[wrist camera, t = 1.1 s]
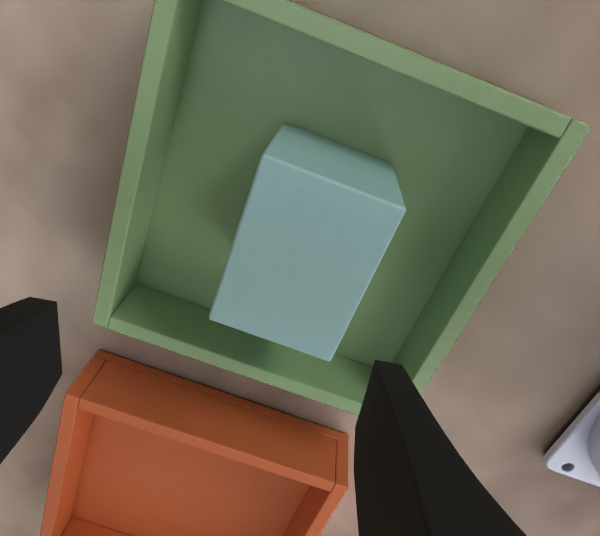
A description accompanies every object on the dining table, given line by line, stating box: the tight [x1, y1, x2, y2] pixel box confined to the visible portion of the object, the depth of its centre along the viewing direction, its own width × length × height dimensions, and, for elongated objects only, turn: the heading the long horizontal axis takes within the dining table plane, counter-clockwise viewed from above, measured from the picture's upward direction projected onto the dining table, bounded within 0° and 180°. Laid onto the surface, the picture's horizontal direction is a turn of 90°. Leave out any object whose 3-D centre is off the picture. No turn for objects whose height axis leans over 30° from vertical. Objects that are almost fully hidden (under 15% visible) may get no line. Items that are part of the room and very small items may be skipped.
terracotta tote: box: [40, 350, 348, 536], centre depth 24 cm, size 12×12×3 cm
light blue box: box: [209, 122, 406, 361], centre depth 16 cm, size 4×5×5 cm
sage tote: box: [92, 0, 591, 416], centre depth 17 cm, size 12×12×3 cm
